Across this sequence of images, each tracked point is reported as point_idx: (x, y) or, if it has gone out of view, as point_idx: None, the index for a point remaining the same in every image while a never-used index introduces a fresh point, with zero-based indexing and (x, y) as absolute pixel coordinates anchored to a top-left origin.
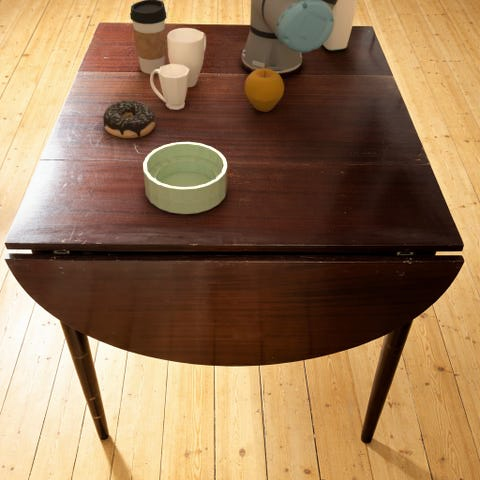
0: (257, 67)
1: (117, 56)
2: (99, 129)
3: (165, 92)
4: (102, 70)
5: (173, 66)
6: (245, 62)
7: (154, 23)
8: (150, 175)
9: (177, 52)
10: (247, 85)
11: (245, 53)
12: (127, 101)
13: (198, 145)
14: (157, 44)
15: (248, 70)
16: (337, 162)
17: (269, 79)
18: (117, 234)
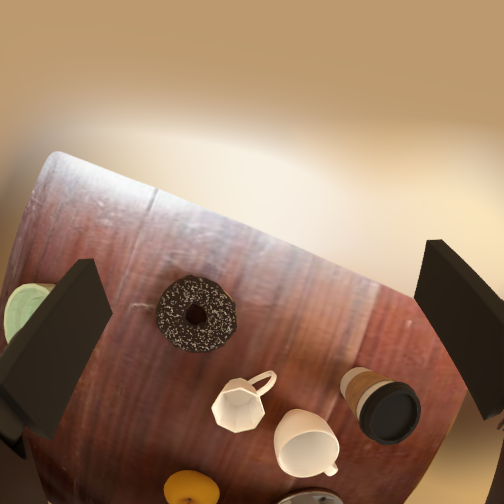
0: (283, 502)
1: (408, 340)
2: (205, 270)
3: (230, 383)
4: (376, 311)
5: (259, 414)
6: (304, 493)
7: (359, 418)
8: (26, 287)
9: (285, 431)
10: (186, 479)
11: (312, 499)
12: (223, 323)
13: None
14: (350, 406)
15: (295, 491)
16: (78, 475)
17: (172, 501)
18: (23, 240)
